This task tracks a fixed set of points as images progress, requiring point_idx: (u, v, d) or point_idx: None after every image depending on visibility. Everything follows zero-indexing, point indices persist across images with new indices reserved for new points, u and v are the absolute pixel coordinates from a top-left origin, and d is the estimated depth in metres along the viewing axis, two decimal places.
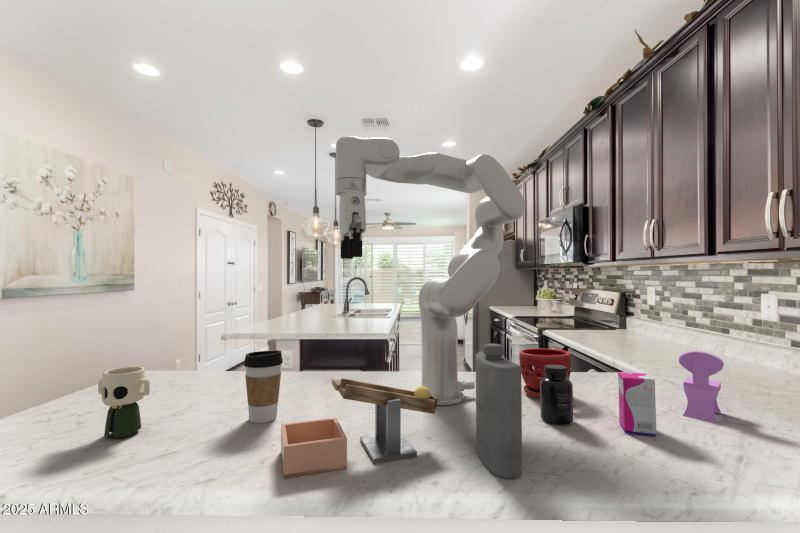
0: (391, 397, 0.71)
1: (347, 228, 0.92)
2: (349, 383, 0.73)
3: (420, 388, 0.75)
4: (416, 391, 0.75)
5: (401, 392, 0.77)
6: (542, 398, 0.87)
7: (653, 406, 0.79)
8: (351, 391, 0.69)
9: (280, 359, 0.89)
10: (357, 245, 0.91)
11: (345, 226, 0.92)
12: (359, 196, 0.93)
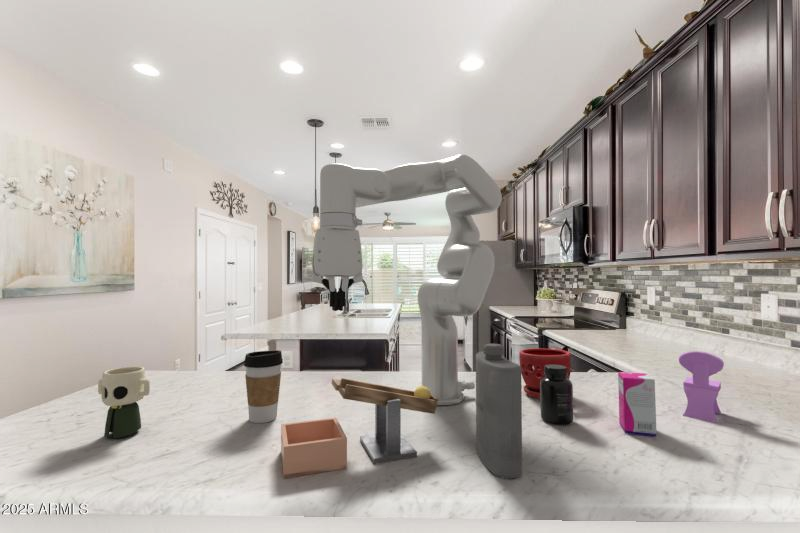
0: (391, 397, 0.71)
1: (360, 272, 0.83)
2: (349, 383, 0.73)
3: (420, 388, 0.75)
4: (416, 391, 0.75)
5: (401, 392, 0.77)
6: (542, 398, 0.87)
7: (653, 406, 0.79)
8: (351, 391, 0.69)
9: (280, 359, 0.89)
10: None
11: (356, 270, 0.82)
12: None
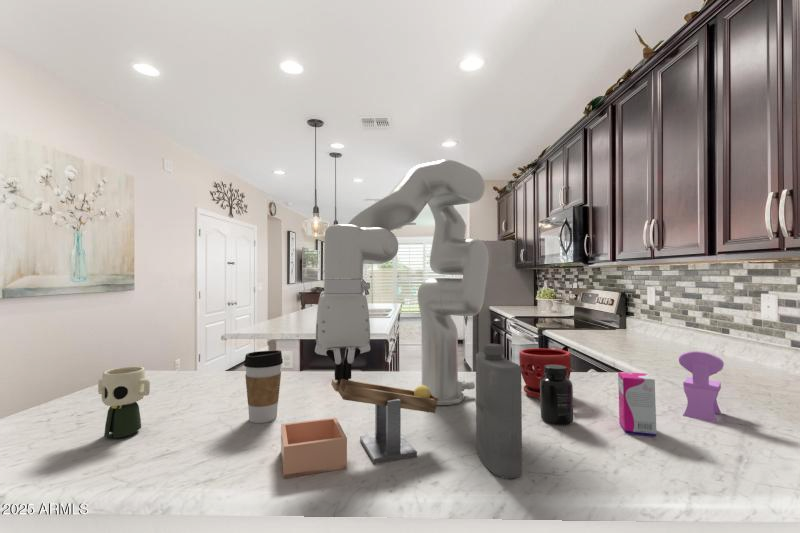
0: (391, 397, 0.71)
1: (367, 342, 0.76)
2: (349, 384, 0.73)
3: (420, 387, 0.75)
4: (416, 391, 0.75)
5: (401, 392, 0.77)
6: (542, 398, 0.87)
7: (653, 406, 0.79)
8: (351, 392, 0.69)
9: (280, 359, 0.89)
10: None
11: (363, 340, 0.75)
12: None
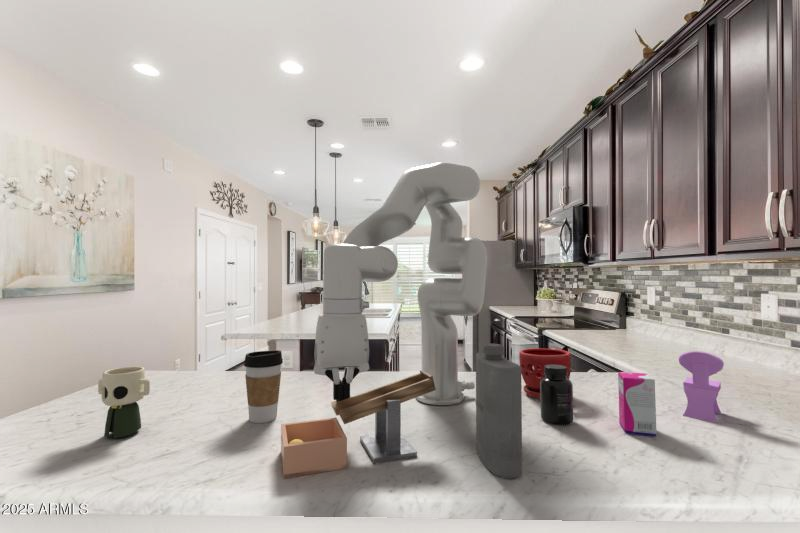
0: (388, 398, 0.71)
1: (366, 362, 0.76)
2: (345, 403, 0.73)
3: None
4: None
5: (398, 384, 0.76)
6: (542, 398, 0.87)
7: (653, 406, 0.79)
8: (348, 414, 0.69)
9: (280, 359, 0.89)
10: None
11: (362, 359, 0.75)
12: None
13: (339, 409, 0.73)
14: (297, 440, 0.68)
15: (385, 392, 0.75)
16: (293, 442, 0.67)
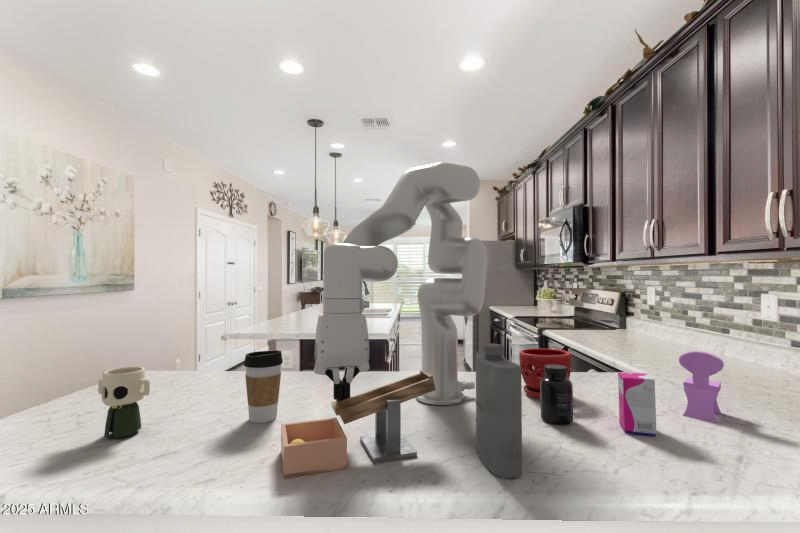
0: (388, 398, 0.71)
1: (366, 361, 0.76)
2: (345, 403, 0.73)
3: None
4: None
5: (398, 384, 0.76)
6: (542, 398, 0.87)
7: (653, 406, 0.79)
8: (348, 414, 0.69)
9: (280, 359, 0.89)
10: None
11: (362, 359, 0.75)
12: None
13: (339, 409, 0.73)
14: (299, 440, 0.68)
15: (385, 392, 0.75)
16: (295, 441, 0.68)
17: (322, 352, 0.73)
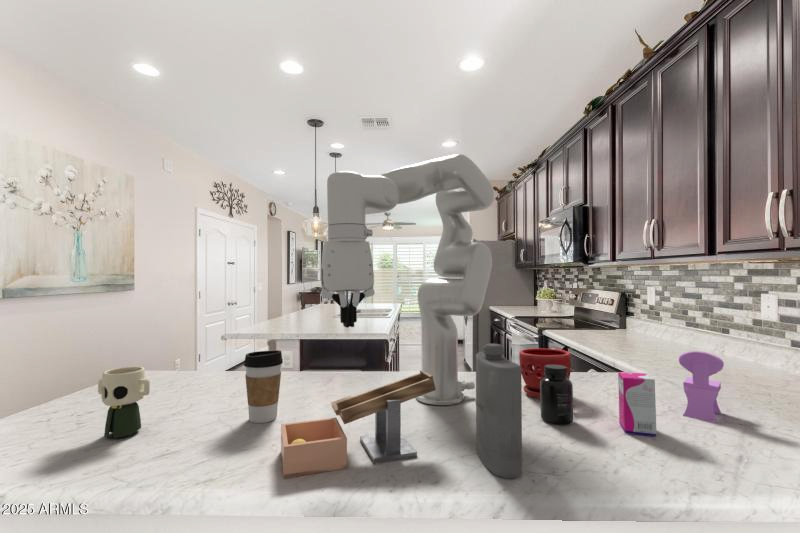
0: (388, 398, 0.71)
1: (371, 286, 0.78)
2: (345, 403, 0.73)
3: None
4: None
5: (398, 384, 0.76)
6: (542, 398, 0.87)
7: (653, 406, 0.79)
8: (348, 414, 0.69)
9: (280, 359, 0.89)
10: None
11: (367, 283, 0.78)
12: None
13: (339, 409, 0.73)
14: (302, 440, 0.68)
15: (385, 392, 0.75)
16: (298, 441, 0.68)
17: (329, 276, 0.75)
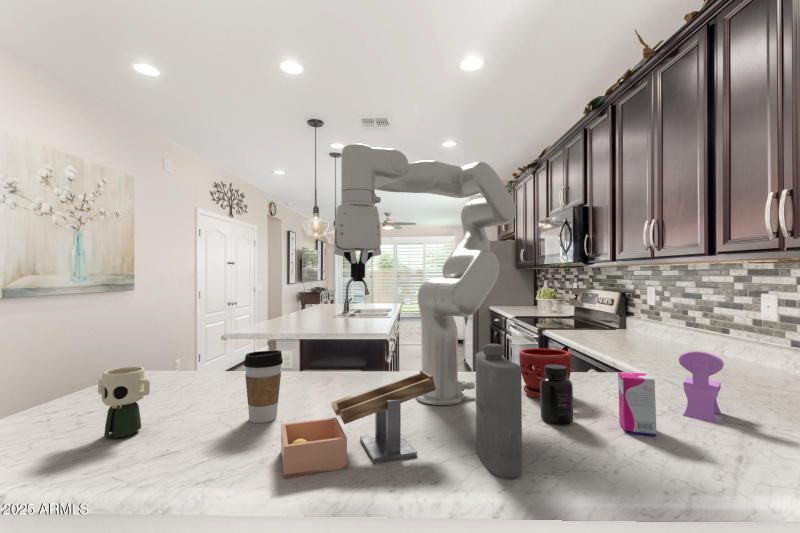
0: (388, 398, 0.71)
1: (379, 246, 0.89)
2: (345, 403, 0.73)
3: None
4: None
5: (398, 384, 0.76)
6: (542, 398, 0.87)
7: (653, 406, 0.79)
8: (348, 414, 0.69)
9: (280, 359, 0.89)
10: None
11: (375, 243, 0.88)
12: None
13: (339, 409, 0.73)
14: (304, 440, 0.68)
15: (385, 392, 0.75)
16: (300, 441, 0.68)
17: (341, 234, 0.86)
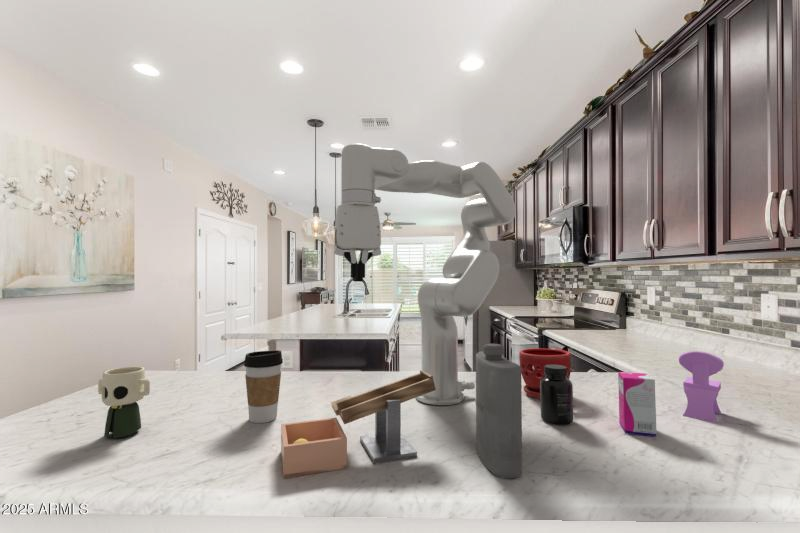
0: (388, 398, 0.71)
1: (379, 246, 0.89)
2: (345, 403, 0.73)
3: None
4: None
5: (398, 384, 0.76)
6: (542, 398, 0.87)
7: (653, 406, 0.79)
8: (348, 414, 0.69)
9: (280, 359, 0.89)
10: None
11: (375, 243, 0.88)
12: None
13: (339, 409, 0.73)
14: (306, 440, 0.68)
15: (385, 392, 0.75)
16: (302, 440, 0.68)
17: (341, 234, 0.86)
